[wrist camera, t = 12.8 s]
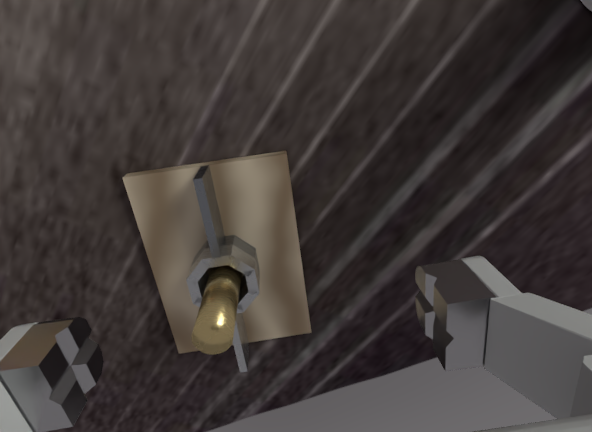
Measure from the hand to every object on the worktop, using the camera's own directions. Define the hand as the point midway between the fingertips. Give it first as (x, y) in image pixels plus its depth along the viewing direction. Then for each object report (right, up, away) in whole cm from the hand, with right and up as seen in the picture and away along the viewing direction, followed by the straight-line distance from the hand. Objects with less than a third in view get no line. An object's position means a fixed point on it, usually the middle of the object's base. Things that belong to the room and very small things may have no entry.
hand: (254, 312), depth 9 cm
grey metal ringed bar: (-6, -3, +31) cm, 32 cm away
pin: (-6, -3, +31) cm, 31 cm away
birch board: (-7, -2, +32) cm, 33 cm away
